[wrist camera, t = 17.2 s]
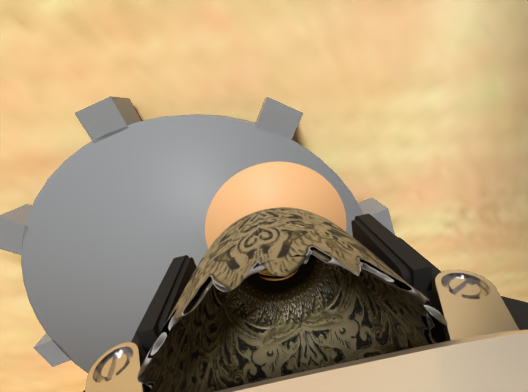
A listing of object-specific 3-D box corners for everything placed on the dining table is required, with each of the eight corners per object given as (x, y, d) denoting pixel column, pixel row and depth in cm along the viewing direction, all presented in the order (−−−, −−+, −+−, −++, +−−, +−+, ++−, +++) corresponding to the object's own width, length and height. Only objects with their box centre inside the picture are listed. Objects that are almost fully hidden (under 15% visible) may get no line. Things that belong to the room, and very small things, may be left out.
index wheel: (189, -5, 13) (124, -136, 6) (434, 266, 19) (534, 350, 12) (-35, 283, 17) (-216, 392, 10) (224, 424, 23) (214, 548, 17)
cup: (354, 274, 14) (473, 460, 7) (232, 312, 15) (214, 528, 7) (323, 150, 12) (455, 220, 4) (179, 199, 12) (62, 342, 5)
